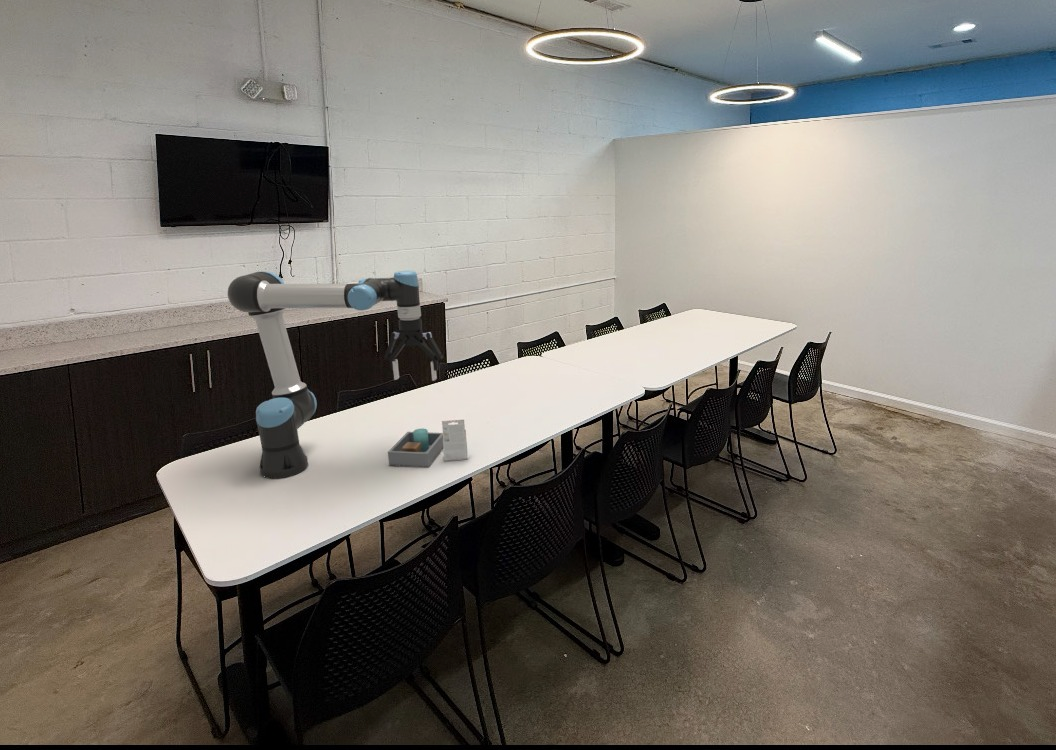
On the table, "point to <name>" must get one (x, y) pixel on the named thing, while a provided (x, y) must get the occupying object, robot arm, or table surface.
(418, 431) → the cylinder
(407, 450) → the cube
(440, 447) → the tote
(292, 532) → the table surface
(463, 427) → the ink box
